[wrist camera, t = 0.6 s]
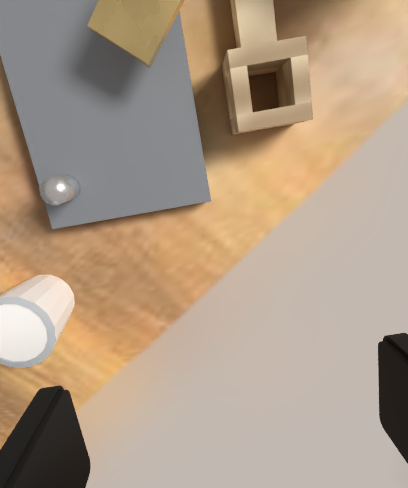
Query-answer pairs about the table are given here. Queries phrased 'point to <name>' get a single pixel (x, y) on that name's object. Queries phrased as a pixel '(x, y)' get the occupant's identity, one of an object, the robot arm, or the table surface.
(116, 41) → the block
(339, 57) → the table surface
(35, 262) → the table surface
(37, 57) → the board
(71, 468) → the robot arm
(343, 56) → the table surface
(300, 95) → the link
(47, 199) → the pintle
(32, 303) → the white cylinder
